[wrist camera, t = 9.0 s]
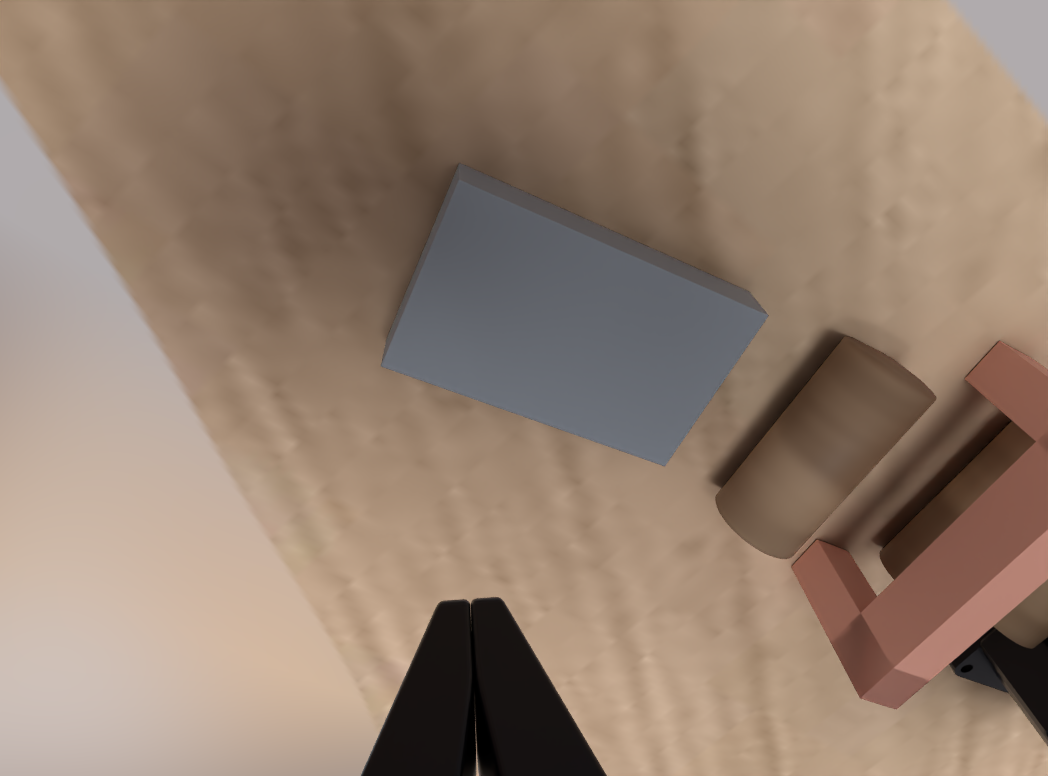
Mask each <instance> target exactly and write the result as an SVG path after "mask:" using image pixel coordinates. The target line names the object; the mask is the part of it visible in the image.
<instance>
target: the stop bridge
mask: <svg viewBox="0 0 1048 776" xmlns="http://www.w3.org/2000/svg"><path fill="white" fill-rule="evenodd" d="M965 380H966V381H967V382H969V383H970V384H971V385H972V386H973V387H974V388H975V389H977V390H978V391H979V392H980V393H981V394H982V395H983V396H985V397H986V398H987V399H988V400H989V401H990V402H991V403H993V404H994V405H995V406H996V407H997V408H998V409H999V410H1001V411H1002V412H1003V413H1004V414H1005V415H1006V416H1007V417H1009V418H1010V419H1011V420H1012V421H1013V422H1014V423H1015V424H1017V425H1018V426H1019V427H1020V428H1021V429H1022V430H1024V431H1025V432H1026V433H1027V434H1028V435H1029V436H1030V437H1032V438H1033V439H1034V440H1035V441H1036V442H1035V443H1034V444H1033V445H1032V446H1031V447H1030V448H1029V449H1028V450H1027V451H1026V452H1025V453H1024V454H1023V455H1022V456H1021V457H1020V458H1019V459H1018V460H1017V461H1016V462H1015V463H1014V464H1013V465H1012V466H1011V467H1010V468H1009V469H1008V470H1007V471H1006V472H1004V473H1003V474H1002V475H1001V476H1000V477H999V478H998V479H997V480H996V481H995V482H994V483H993V484H992V485H991V486H990V487H989V488H988V489H987V490H986V491H985V492H984V493H983V494H982V495H981V496H980V497H979V498H978V499H977V500H976V501H975V502H974V503H973V504H972V505H971V506H970V507H969V508H968V509H967V510H966V511H965V512H964V513H962V514H961V515H960V516H959V517H958V518H957V519H956V520H955V521H954V522H953V523H952V524H951V525H950V526H949V527H948V528H947V529H946V530H945V531H944V532H943V533H942V534H941V535H940V536H939V537H938V538H937V539H936V540H935V541H934V542H933V543H932V544H931V545H930V546H929V547H928V548H927V549H926V550H925V551H924V552H923V553H922V554H920V555H919V556H918V557H917V558H916V559H915V560H914V561H913V562H912V563H911V564H910V565H909V566H908V567H907V568H906V569H905V570H904V571H903V572H902V573H901V574H900V575H899V576H898V577H897V578H896V579H895V580H894V581H893V582H892V583H891V584H890V585H889V586H888V587H887V588H886V589H885V590H884V591H883V592H882V593H881V594H880V595H878V596H876V594H875V593H874V591H873V590H872V588H871V586H870V585H869V583H868V582H867V580H866V578H865V577H864V575H863V574H862V572H861V571H860V569H859V567H858V566H857V564H856V563H855V561H854V559H853V558H852V556H851V555H850V553H849V552H848V551H846V550H843V549H841V548H838V547H836V546H833V545H831V544H828V543H825V542H823V541H820V540H818V539H817V540H816V541H815V542H814V543H813V544H812V545H811V546H810V547H809V548H808V549H807V551H806V552H805V553H804V554H803V555H802V556H801V557H800V558H799V559H798V560H797V561H796V562H795V564H794V565H793V566H792V569H793V571H794V573H795V575H796V577H797V579H798V581H799V583H800V585H801V587H802V588H803V590H804V592H805V594H806V596H807V598H808V600H809V602H810V604H811V606H812V608H813V609H814V611H815V613H816V615H817V617H818V619H819V621H820V623H821V625H822V627H823V629H824V630H825V632H826V634H827V636H828V638H829V640H830V642H831V644H832V646H833V648H834V650H835V651H836V653H837V655H838V657H839V659H840V661H841V663H842V665H843V667H844V669H845V671H846V672H847V674H848V676H849V678H850V680H851V682H852V684H853V686H854V688H855V690H856V691H857V693H858V695H859V697H860V698H861V699H864V700H867V701H870V702H874V703H877V704H880V705H883V706H887V707H890V708H893V709H898V708H899V707H900V706H901V705H902V704H903V703H904V702H906V701H907V700H908V699H909V698H910V697H911V696H913V695H914V694H915V693H916V692H917V691H918V690H920V689H921V688H922V687H923V686H924V685H925V684H927V683H928V682H929V681H930V680H931V679H932V678H934V677H935V676H936V675H937V674H938V673H939V672H941V671H942V670H943V669H944V668H945V667H946V666H947V665H949V664H950V663H951V662H952V661H953V660H954V659H956V658H957V657H958V656H959V655H960V654H961V653H963V652H964V651H965V650H966V649H967V648H968V647H970V646H971V645H972V644H973V643H974V642H975V641H977V640H978V639H979V638H980V637H981V636H982V635H984V634H985V633H986V632H987V631H988V630H989V629H990V628H992V627H993V626H994V625H995V624H996V623H997V622H999V621H1000V620H1001V619H1002V618H1003V617H1004V616H1006V615H1007V614H1008V613H1009V612H1010V611H1011V610H1013V609H1014V608H1015V607H1016V606H1017V605H1018V604H1020V603H1021V602H1022V601H1023V600H1024V599H1025V598H1027V597H1028V596H1029V595H1030V594H1031V593H1032V592H1033V591H1035V590H1036V589H1037V588H1038V587H1039V586H1040V585H1042V584H1043V583H1044V582H1045V581H1046V580H1047V579H1048V370H1047V369H1046V368H1045V367H1043V366H1042V365H1041V364H1039V363H1038V362H1037V361H1035V360H1034V359H1032V358H1030V357H1029V356H1027V355H1025V354H1023V353H1021V352H1019V351H1018V350H1016V349H1014V348H1012V347H1010V346H1008V345H1006V344H1005V343H1003V342H1001V341H999V342H998V343H997V344H996V345H995V346H994V347H993V348H992V350H991V351H990V352H989V353H988V354H987V355H986V356H985V357H984V358H983V359H982V360H981V362H980V363H979V364H978V365H977V366H976V367H975V368H974V369H973V370H972V371H971V372H970V373H969V375H968V376H967V377H966V378H965Z"/></svg>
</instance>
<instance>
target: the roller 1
mask: <svg viewBox="0 0 1048 776" xmlns="http://www.w3.org/2000/svg"><path fill="white" fill-rule="evenodd" d="M935 400H936V396H935V395H934V393H933V392H932V391H931V390H930V389H929V388H928V387H927V386H926V385H925V384H924V383H923V382H922V381H921V380H920V379H918V378H917V377H916V376H915V375H914V374H912V373H911V372H910V371H908V370H907V369H906V368H904V367H903V366H902V365H900V364H899V363H897V362H896V361H894V360H893V359H891V358H890V357H888V356H887V355H885V354H884V353H882V352H880V351H878V350H876V349H874V348H872V347H870V346H868V345H866V344H864V343H862V342H860V341H858V340H856V339H854V338H852V337H848V336H845V337H844V338H843V339H842V340H841V342H840V343H839V344H838V345H837V346H836V348H835V349H834V350H833V351H832V353H831V354H830V355H829V356H828V358H827V359H826V360H825V361H824V363H823V364H822V365H821V366H820V368H819V369H818V370H817V371H816V372H815V374H814V375H813V376H812V377H811V379H810V380H809V381H808V382H807V384H806V385H805V386H804V387H803V389H802V390H801V391H800V392H799V394H798V395H797V396H796V397H795V398H794V400H793V401H792V402H791V403H790V405H789V406H788V407H787V408H786V410H785V411H784V412H783V413H782V415H781V416H780V417H779V418H778V420H777V421H776V422H775V423H774V424H773V426H772V427H771V428H770V429H769V431H768V432H767V433H766V434H765V436H764V437H763V438H762V439H761V441H760V442H759V443H758V444H757V446H756V447H755V448H754V449H753V450H752V452H751V453H750V454H749V455H748V457H747V458H746V459H745V460H744V462H743V463H742V464H741V465H740V467H739V468H738V469H737V470H736V472H735V473H734V474H733V475H732V476H731V478H730V479H729V480H728V481H727V483H726V484H725V485H724V486H723V488H722V489H721V490H720V491H719V493H718V494H717V495H716V505H717V508H718V510H719V512H720V514H721V515H722V517H723V518H724V520H725V521H726V522H727V524H728V525H729V526H730V527H731V528H732V529H733V530H734V531H735V532H736V533H737V534H738V535H739V536H740V537H741V538H742V539H744V540H745V541H746V542H747V543H749V544H750V545H752V546H753V547H755V548H756V549H758V550H759V551H761V552H763V553H765V554H767V555H770V556H773V557H776V558H780V559H788V558H790V557H792V556H793V555H794V554H795V553H796V552H797V551H798V549H799V548H800V547H801V546H802V545H803V544H804V543H805V542H806V541H807V540H808V539H809V538H810V536H811V535H812V534H813V533H814V532H815V531H816V530H817V529H818V528H819V527H820V526H821V524H822V523H823V522H824V521H825V520H826V519H827V518H828V517H829V516H830V515H831V514H832V512H833V511H834V510H835V509H836V508H837V507H838V506H839V505H840V504H841V503H842V502H843V501H844V499H845V498H846V497H847V496H848V495H849V494H850V493H851V492H852V491H853V490H854V489H855V487H856V486H857V485H858V484H859V483H860V482H861V481H862V480H863V479H864V478H865V477H866V475H867V474H868V473H869V472H870V471H871V470H872V469H873V468H874V467H875V466H876V465H877V464H878V462H879V461H880V460H881V459H882V458H883V457H884V456H885V455H886V454H887V453H888V452H889V450H890V449H891V448H892V447H893V446H894V445H895V444H896V443H897V442H898V441H899V440H900V438H901V437H902V436H903V435H904V434H905V433H906V432H907V431H908V430H909V429H910V428H911V427H912V425H913V424H914V423H915V422H916V421H917V420H918V419H919V418H920V417H921V416H922V415H923V413H924V412H925V411H926V410H927V409H928V408H929V407H930V406H931V405H932V404H933V403H934V401H935Z"/></svg>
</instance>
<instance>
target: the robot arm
mask: <svg viewBox="0 0 1048 776" xmlns="http://www.w3.org/2000/svg"><path fill="white" fill-rule="evenodd" d="M471 630H472V631H471ZM949 665H950V667H951V668H952V670H953V671H954V673H955V674H956V675H957V676H960V677H963V678H966V679H969V680H972V681H974V682H977V683H980V684H983V685H986V686H989V687H992V688H995V689H998V690H1001V691H1004V692H1007V693H1009V694H1010V695H1011V696H1012V698H1013V699H1014V700H1015V702H1016V703H1017V705H1018V706H1019V707H1020V709H1021V710H1022V711H1023V713H1024V714H1025V716H1026V717H1027V718H1028V720H1029V721H1030V722H1031V724H1032V725H1033V727H1034V728H1035V729H1036V731H1037V732H1038V733H1039V735H1040V736H1041V738H1042V739H1043V740H1044V742H1045V743H1046V744H1047V746H1048V637H1047V638H1046V639H1045V640H1043V641H1042V642H1041V643H1040V644H1038V645H1037V646H1036V647H1035V648H1032V649H1030V648H1026V647H1023V646H1021V645H1019V644H1017V643H1015V642H1014V641H1012V640H1011V639H1009V638H1008V637H1006V636H1005V635H1004V634H1002V633H1001V632H1000V631H998V630H997V629H996V628H995V627H994V626H993V627H992V628H990V629H989V630H988V631H987V632H986V633H985V634H984V635H982V636H981V637H980V638H979V639H978V640H977V641H975V642H974V643H973V644H972V645H971V646H970V647H968V648H967V649H966V650H965V651H964V652H963V653H961V654H960V655H959V656H958V657H957V658H956V659H954V660H953V661H952V662H951V663H950V664H949ZM475 721H476V731H475ZM476 743H477V759H478V770H479V776H607V775H606V774H605V772H604V770H603V769H602V767H601V765H600V763H599V762H598V760H597V758H596V757H595V755H594V753H593V752H592V750H591V748H590V746H589V745H588V743H587V741H586V740H585V738H584V736H583V735H582V733H581V731H580V730H579V728H578V726H577V724H576V723H575V721H574V719H573V718H572V716H571V714H570V713H569V711H568V709H567V707H566V706H565V704H564V702H563V701H562V699H561V697H560V696H559V694H558V692H557V691H556V689H555V687H554V685H553V684H552V682H551V680H550V679H549V677H548V675H547V674H546V672H545V670H544V669H543V667H542V665H541V663H540V662H539V660H538V658H537V657H536V655H535V653H534V652H533V650H532V648H531V646H530V645H529V643H528V641H527V640H526V638H525V636H524V635H523V633H522V631H521V630H520V628H519V626H518V624H517V623H516V621H515V619H514V618H513V616H512V614H511V613H510V611H509V609H508V608H507V606H506V604H505V603H504V601H503V600H502V599H501V598H499V597H491V598H477V599H474V600H473V601H472V602H471V612H470V603H469V601H467V600H465V599H462V600H447V601H441V602H440V603H439V604H438V605H437V607H436V609H435V611H434V613H433V615H432V618H431V620H430V622H429V624H428V626H427V629H426V631H425V633H424V635H423V638H422V640H421V642H420V644H419V647H418V649H417V651H416V653H415V656H414V658H413V660H412V662H411V664H410V667H409V669H408V671H407V673H406V676H405V678H404V680H403V682H402V685H401V687H400V689H399V691H398V694H397V696H396V698H395V700H394V702H393V705H392V707H391V709H390V711H389V714H388V716H387V718H386V720H385V723H384V725H383V727H382V729H381V732H380V734H379V736H378V738H377V740H376V743H375V745H374V747H373V750H372V752H371V754H370V756H369V759H368V761H367V763H366V765H365V767H364V770H363V772H362V774H361V776H476Z"/></svg>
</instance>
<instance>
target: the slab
mask: <svg viewBox="0 0 1048 776" xmlns="http://www.w3.org/2000/svg"><path fill="white" fill-rule="evenodd" d="M768 316H769V315H768V314H767V313H766V312H765V310H764V309H763V308H762V307H761V305H760V304H759V303H758V302H757V301H756V299H755V298H754V297H753V296H752V294H751V293H750V292H749V291H746V290H744V289H742V288H740V287H737V286H735V285H733V284H731V283H728V282H726V281H724V280H722V279H720V278H717V277H715V276H713V275H711V274H708V273H706V272H704V271H702V270H699V269H697V268H695V267H693V266H690V265H688V264H686V263H684V262H681V261H679V260H677V259H675V258H672V257H670V256H668V255H666V254H663V253H661V252H659V251H657V250H654V249H652V248H650V247H648V246H645V245H643V244H641V243H639V242H636V241H634V240H632V239H630V238H627V237H625V236H623V235H621V234H618V233H616V232H614V231H612V230H609V229H607V228H605V227H603V226H600V225H598V224H596V223H594V222H591V221H589V220H587V219H585V218H583V217H580V216H578V215H576V214H574V213H571V212H569V211H567V210H565V209H562V208H560V207H558V206H556V205H553V204H551V203H549V202H547V201H544V200H542V199H540V198H538V197H535V196H533V195H531V194H529V193H526V192H524V191H522V190H520V189H517V188H515V187H513V186H511V185H508V184H506V183H504V182H502V181H499V180H497V179H495V178H493V177H490V176H488V175H486V174H484V173H481V172H479V171H477V170H475V169H472V168H470V167H468V166H466V165H463V164H461V163H459V165H458V167H457V170H456V172H455V175H454V177H453V180H452V182H451V184H450V187H449V189H448V192H447V194H446V196H445V199H444V201H443V204H442V206H441V209H440V211H439V213H438V216H437V218H436V221H435V223H434V225H433V228H432V230H431V233H430V235H429V238H428V240H427V242H426V245H425V247H424V250H423V252H422V254H421V257H420V259H419V262H418V264H417V267H416V269H415V271H414V274H413V276H412V279H411V281H410V283H409V286H408V288H407V291H406V293H405V295H404V298H403V300H402V303H401V305H400V308H399V310H398V312H397V315H396V317H395V320H394V322H393V324H392V327H391V329H390V332H389V334H388V337H387V339H386V343H385V348H384V353H383V358H382V363H381V367H384V368H387V369H390V370H393V371H396V372H398V373H401V374H404V375H407V376H410V377H413V378H415V379H418V380H421V381H424V382H427V383H430V384H433V385H435V386H438V387H441V388H444V389H447V390H450V391H452V392H455V393H458V394H461V395H464V396H467V397H469V398H472V399H475V400H478V401H481V402H484V403H486V404H489V405H492V406H495V407H498V408H501V409H503V410H506V411H509V412H512V413H515V414H518V415H521V416H523V417H526V418H529V419H532V420H535V421H538V422H540V423H543V424H546V425H549V426H552V427H555V428H557V429H560V430H563V431H566V432H569V433H572V434H574V435H577V436H580V437H583V438H586V439H589V440H591V441H594V442H597V443H600V444H603V445H606V446H608V447H611V448H614V449H617V450H620V451H623V452H626V453H628V454H631V455H634V456H637V457H640V458H643V459H645V460H648V461H651V462H654V463H657V464H660V465H662V466H665V465H666V464H667V462H668V461H669V459H670V458H671V457H672V455H673V454H674V452H675V451H676V449H677V448H678V446H679V445H680V444H681V442H682V441H683V439H684V438H685V436H686V435H687V433H688V432H689V430H690V429H691V428H692V426H693V425H694V423H695V422H696V420H697V419H698V417H699V416H700V415H701V413H702V412H703V410H704V409H705V407H706V406H707V404H708V403H709V401H710V400H711V399H712V397H713V396H714V394H715V393H716V391H717V390H718V388H719V387H720V385H721V384H722V383H723V381H724V380H725V378H726V377H727V375H728V374H729V372H730V371H731V370H732V368H733V367H734V365H735V364H736V362H737V361H738V359H739V358H740V356H741V355H742V354H743V352H744V351H745V349H746V348H747V346H748V345H749V343H750V342H751V341H752V339H753V338H754V336H755V335H756V333H757V332H758V330H759V329H760V327H761V326H762V325H763V323H764V322H765V320H766V319H767V317H768Z"/></svg>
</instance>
